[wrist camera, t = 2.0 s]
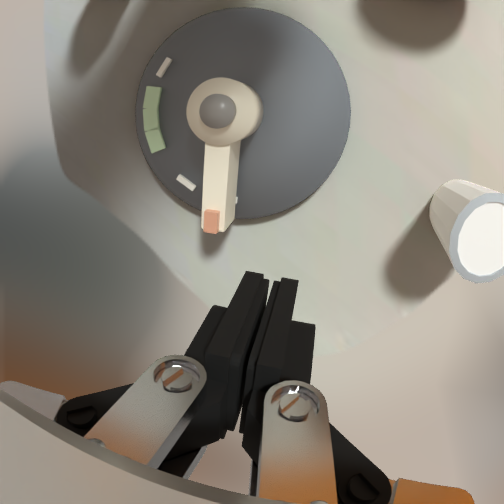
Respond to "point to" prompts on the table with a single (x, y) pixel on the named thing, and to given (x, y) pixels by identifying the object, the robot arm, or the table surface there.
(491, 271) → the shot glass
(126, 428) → the robot arm
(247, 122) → the lever
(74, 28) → the table surface
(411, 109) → the table surface
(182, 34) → the dial
